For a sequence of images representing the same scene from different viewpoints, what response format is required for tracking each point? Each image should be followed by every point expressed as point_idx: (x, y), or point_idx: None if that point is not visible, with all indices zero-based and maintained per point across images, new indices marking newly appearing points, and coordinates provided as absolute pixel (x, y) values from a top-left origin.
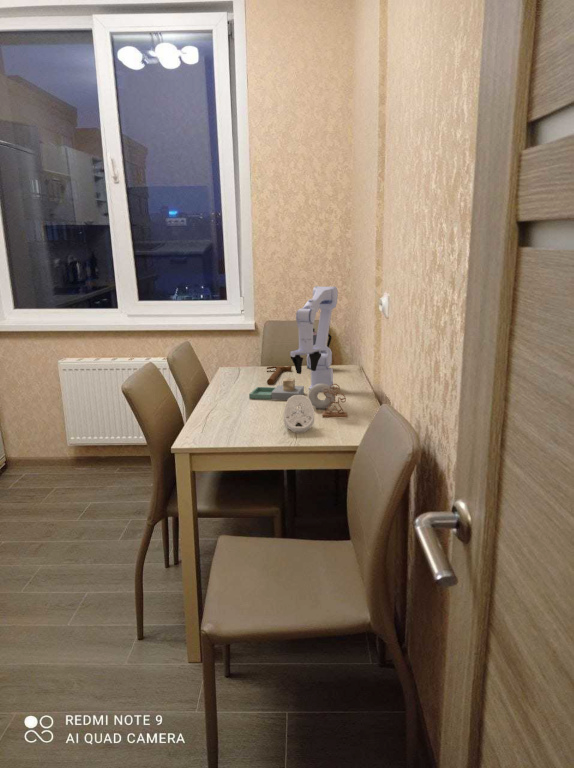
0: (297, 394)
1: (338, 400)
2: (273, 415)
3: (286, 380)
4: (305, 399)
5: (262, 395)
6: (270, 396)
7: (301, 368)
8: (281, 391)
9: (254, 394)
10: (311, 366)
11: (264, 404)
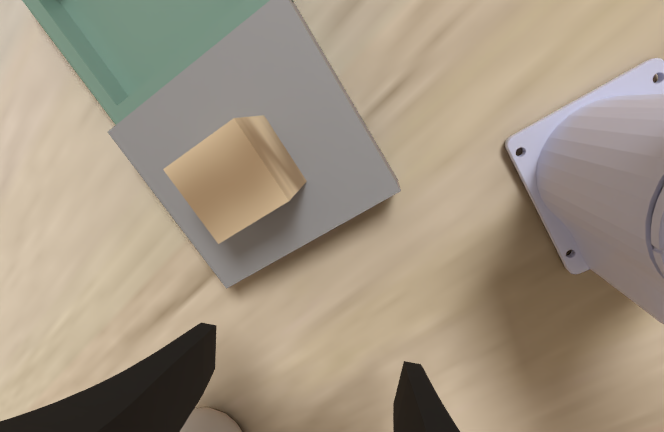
0: (226, 281)
1: None
2: (12, 328)
3: (193, 185)
4: None
5: (81, 72)
6: None
7: (181, 427)
8: None
9: (35, 14)
10: (408, 400)
11: (59, 171)
